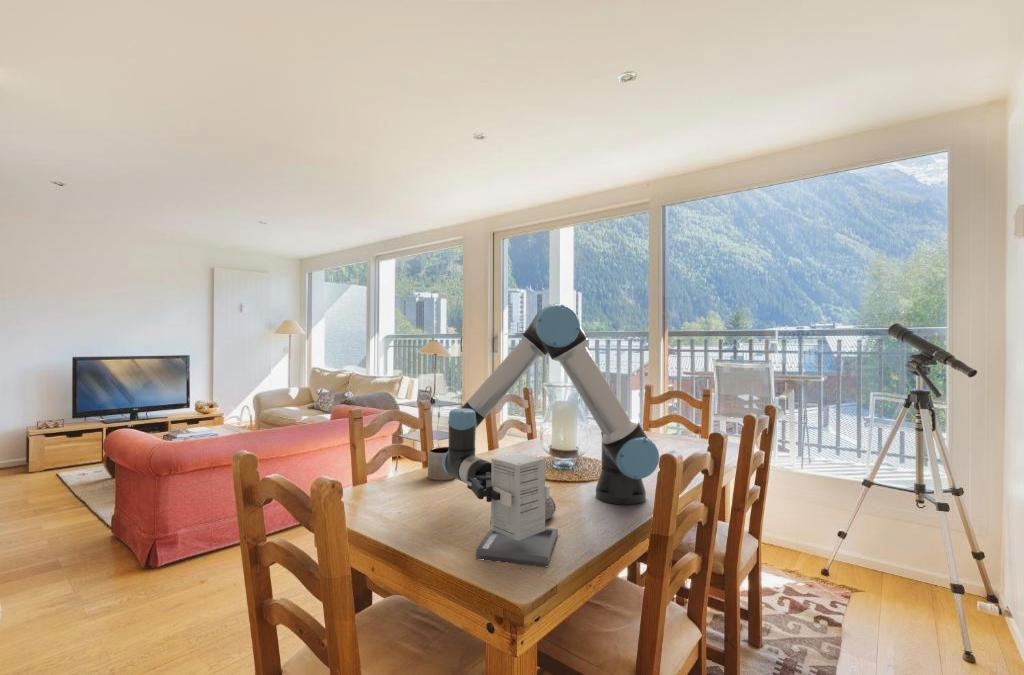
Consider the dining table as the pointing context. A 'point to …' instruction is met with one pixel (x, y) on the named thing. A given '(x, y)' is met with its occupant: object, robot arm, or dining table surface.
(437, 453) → the planter
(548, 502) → the sea urchin shell
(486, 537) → the tray
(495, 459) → the supplement box
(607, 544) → the dining table surface
